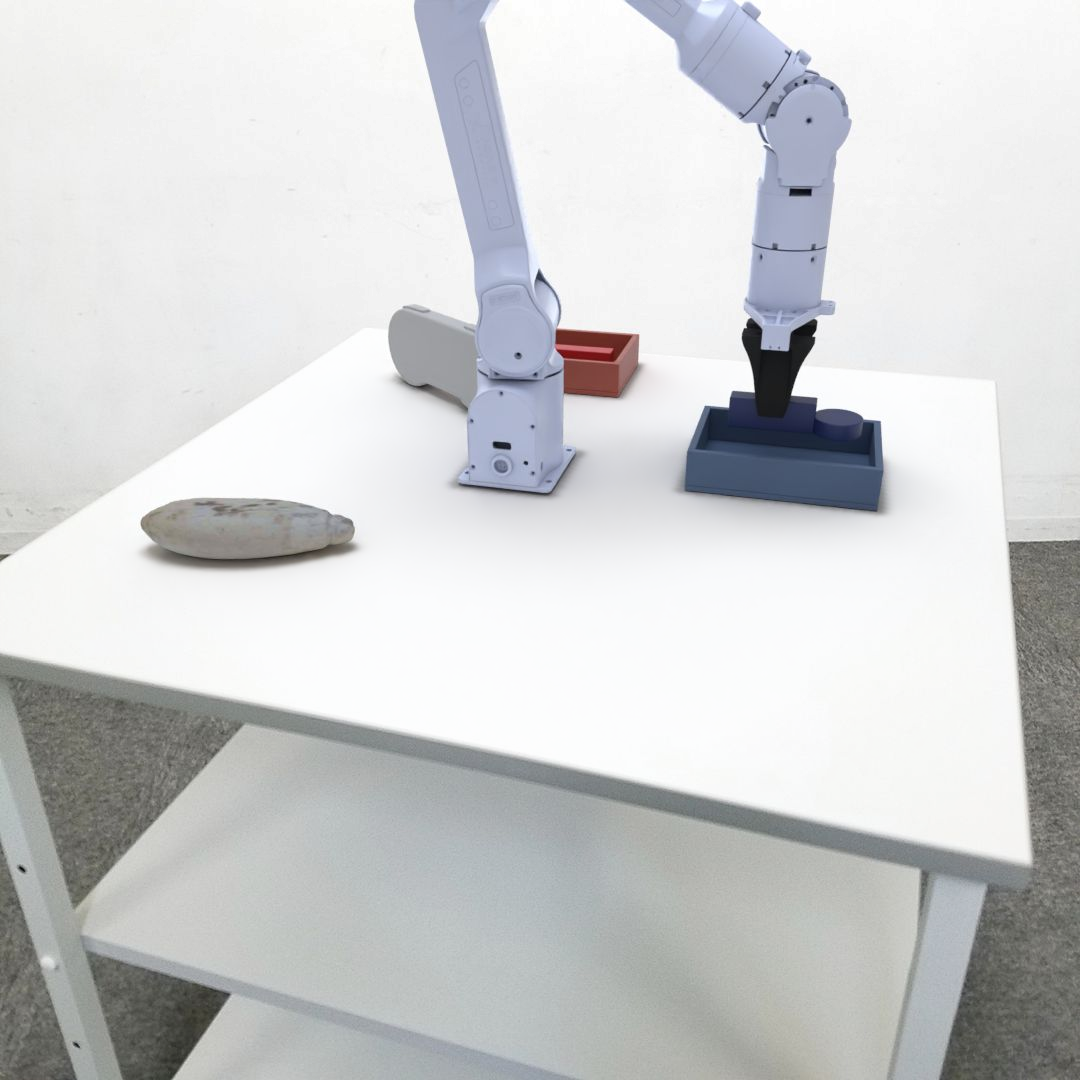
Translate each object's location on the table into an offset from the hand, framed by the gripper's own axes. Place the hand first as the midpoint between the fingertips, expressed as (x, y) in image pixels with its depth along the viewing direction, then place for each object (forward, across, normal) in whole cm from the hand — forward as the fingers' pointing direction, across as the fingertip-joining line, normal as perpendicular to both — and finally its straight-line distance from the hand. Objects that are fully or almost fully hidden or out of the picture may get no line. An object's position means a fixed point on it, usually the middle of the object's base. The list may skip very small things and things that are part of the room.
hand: (771, 411), depth 86 cm
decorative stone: (+6, -24, +36) cm, 43 cm away
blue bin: (+6, 0, -2) cm, 6 cm away
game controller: (+6, +11, +32) cm, 35 cm away
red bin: (+6, +21, +24) cm, 32 cm away
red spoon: (+5, +21, +23) cm, 32 cm away
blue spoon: (+1, 0, -2) cm, 2 cm away
